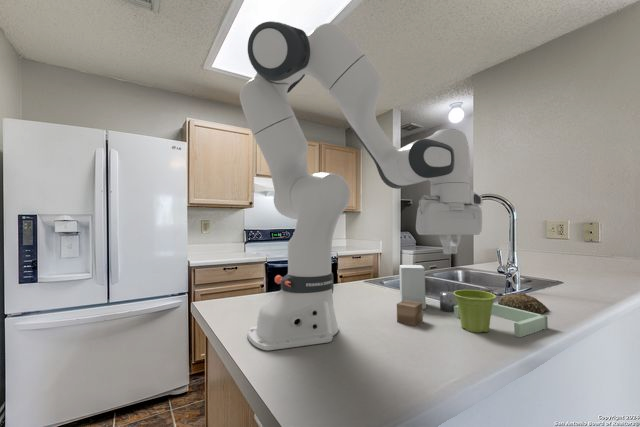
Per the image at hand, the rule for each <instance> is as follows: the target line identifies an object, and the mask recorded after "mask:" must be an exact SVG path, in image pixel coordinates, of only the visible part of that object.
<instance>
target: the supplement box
mask: <svg viewBox="0 0 640 427" xmlns="http://www.w3.org/2000/svg"><path fill="white" fill-rule="evenodd" d="M425 270H426V269H425V267H424V266H423V265H422V264H400V265H399V272H398V273H399V303H400V302H402V301H404V300H408V301H414V302H419V303H422V307H423V310H425V309H427V307H426V305H427V304H426V303H427V302H426V301H427V300H426V271H425Z"/></svg>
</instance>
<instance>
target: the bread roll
mask: <svg viewBox="0 0 640 427" xmlns="http://www.w3.org/2000/svg"><path fill="white" fill-rule="evenodd" d="M497 304H499V305H503V306H507V307H511V308H515V309H520V310H524V311H528V312H532V313H536V314H541V315H544V313H545V312H546V311H547V312H549V311H550V310H549V308H548V307H547V306H546V304H543V302H542V301H540V300H538V299H537V298H536V297H534V296H531V295H527V294H526V293H524V292H518V293H516V292H515V293H510V294H504V295H501V296H500V297H499V298H498V302H497Z"/></svg>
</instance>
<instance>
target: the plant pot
mask: <svg viewBox="0 0 640 427" xmlns="http://www.w3.org/2000/svg"><path fill="white" fill-rule="evenodd" d="M452 292H453V294H454V295H455V297H456V301H457V303H458V309H459V314H460V318H459V320H460V324H461V325H460V326H461V328H462V329H465V330H466V331H468V332H471V333H477V334H478V333H481V334H482V333H483V332H484V333H487V332H489V331H490V325H491V317H492V314H491V310H492V305H493V303H494V302H495V299H496V297H497V296H496V295H495V294H494V293H492V292H488V291H483V290H477V289H475V290H474V289H459V290H455V291H452ZM494 304H495V303H494Z"/></svg>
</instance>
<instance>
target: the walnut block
mask: <svg viewBox="0 0 640 427" xmlns="http://www.w3.org/2000/svg"><path fill="white" fill-rule="evenodd" d="M423 310H424V309H423V307H422V303H419V302H414V301H408V300H404V301H402V302H400V301H399V302H398V303H396V322H397V323H399V324H403V325H407V326H412V327H416V326H418V325H419V324H421V323H423V322H424V319H423V318H424V316H423V315H424V314H423V313H424V312H423Z"/></svg>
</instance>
